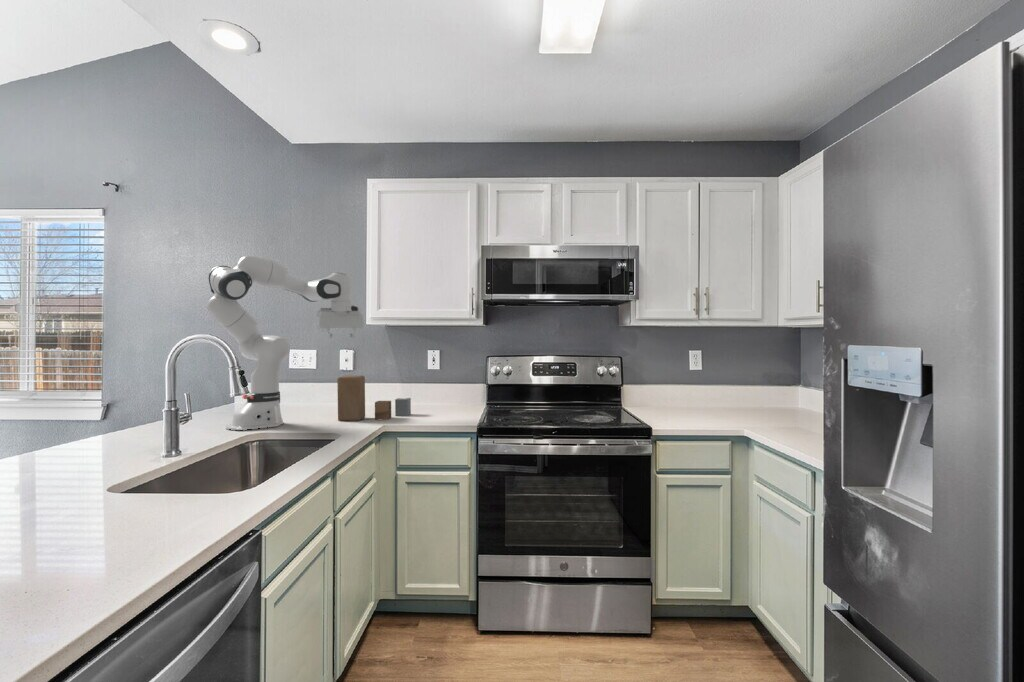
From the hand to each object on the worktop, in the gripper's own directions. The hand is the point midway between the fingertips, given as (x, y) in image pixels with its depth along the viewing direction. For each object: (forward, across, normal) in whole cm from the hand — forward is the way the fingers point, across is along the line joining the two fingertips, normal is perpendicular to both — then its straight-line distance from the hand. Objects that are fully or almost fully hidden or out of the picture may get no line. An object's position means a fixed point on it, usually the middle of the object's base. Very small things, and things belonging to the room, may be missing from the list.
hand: (341, 337), depth 242 cm
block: (+38, +4, -6) cm, 39 cm away
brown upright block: (+38, +18, -10) cm, 43 cm away
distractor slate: (+38, +28, -3) cm, 47 cm away
